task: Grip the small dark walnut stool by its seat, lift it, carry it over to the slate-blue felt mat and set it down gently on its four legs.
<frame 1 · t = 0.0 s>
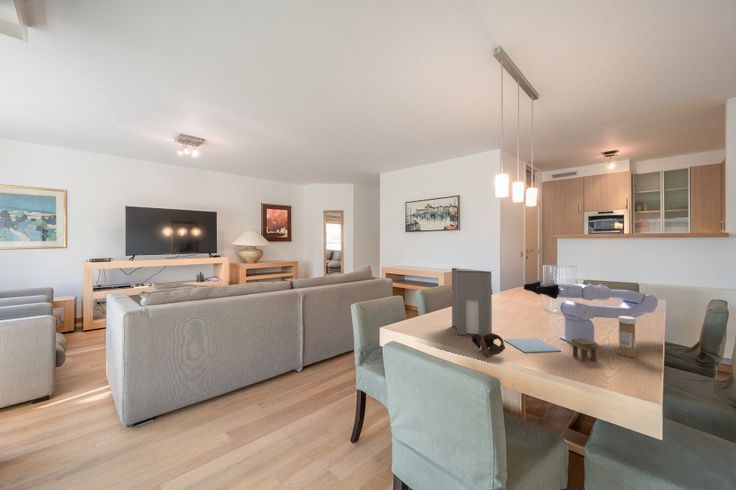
hand: (530, 288, 118), 22 cm above the table, tool horizontal, fingers open, 7 cm apart
sprinkles bottle: (627, 355, 104), on the table
cabinet: (464, 333, 131), on the table
felt mat: (530, 345, 115), on the table
walnut stool: (584, 358, 102), on the table
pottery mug: (487, 353, 108), on the table
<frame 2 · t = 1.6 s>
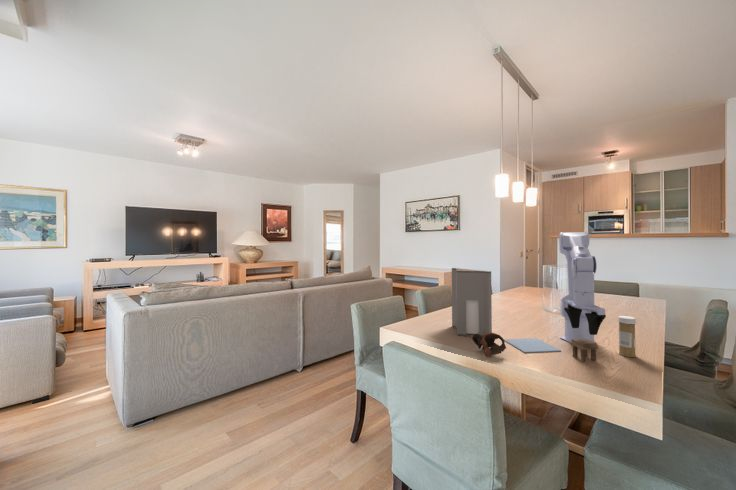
hand: (584, 331, 102), 9 cm above the table, tool pointing down, fingers open, 7 cm apart
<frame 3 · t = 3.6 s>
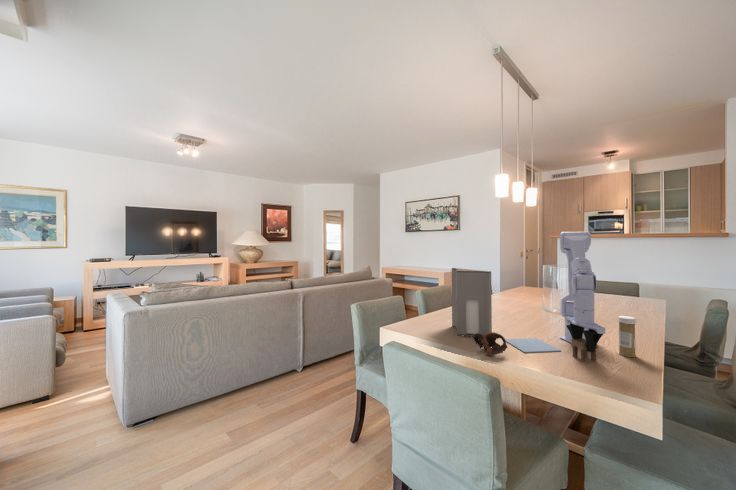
hand: (584, 348, 102), 3 cm above the table, tool pointing down, fingers closed on walnut stool, 5 cm apart
walnut stool: (584, 358, 102), on the table, touching gripper
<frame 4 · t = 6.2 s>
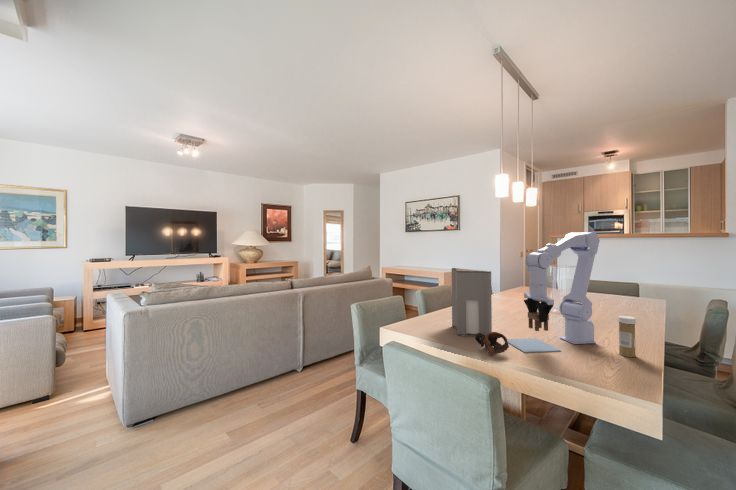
hand: (538, 320, 113), 10 cm above the table, tool pointing down, fingers closed on walnut stool, 5 cm apart
walnut stool: (538, 329, 113), point 7 cm above the table, touching gripper
when the fingers open (5 cm above the table, at t = 9.0 s): walnut stool drops 1 cm, resting on felt mat.
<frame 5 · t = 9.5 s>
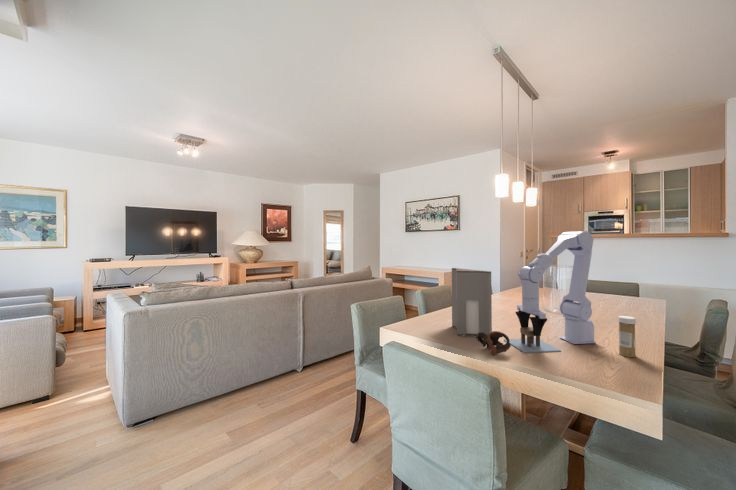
hand: (530, 332, 115), 5 cm above the table, tool pointing down, fingers open, 7 cm apart
walnut stool: (530, 344, 115), resting on felt mat
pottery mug: (493, 351, 110), on the table
everything else where it was.
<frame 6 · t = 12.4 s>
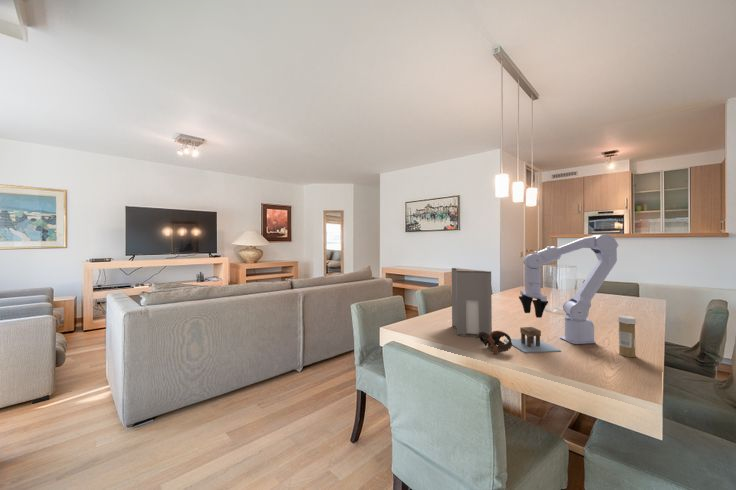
hand: (532, 315, 124), 9 cm above the table, tool pointing down, fingers open, 7 cm apart
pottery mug: (494, 350, 111), on the table
everything else where it was.
at the end: walnut stool inside the target area on the felt mat (0.1 cm from its centre), point 0.4 cm above the felt mat's base; walnut stool tilted 0°; the gripper is holding nothing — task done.
